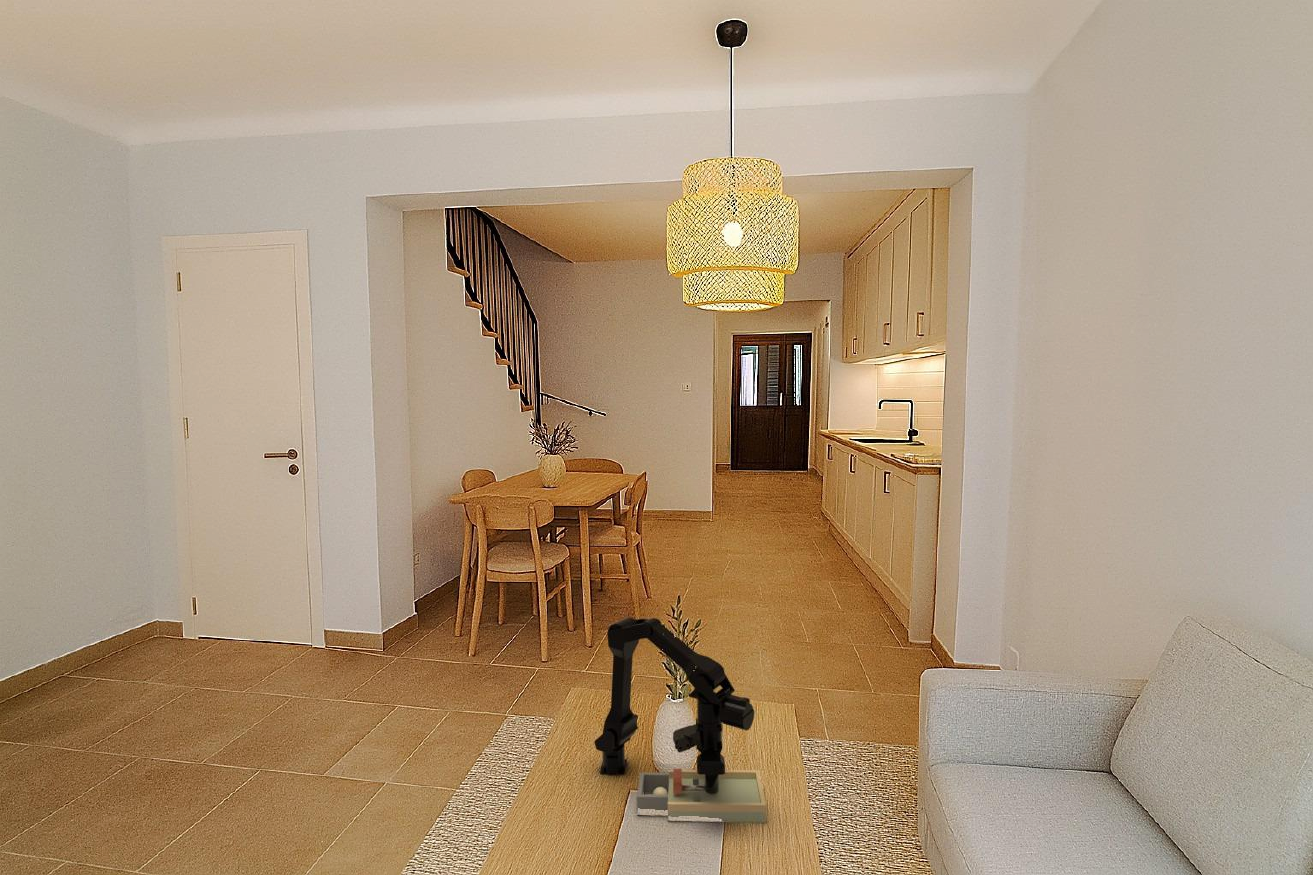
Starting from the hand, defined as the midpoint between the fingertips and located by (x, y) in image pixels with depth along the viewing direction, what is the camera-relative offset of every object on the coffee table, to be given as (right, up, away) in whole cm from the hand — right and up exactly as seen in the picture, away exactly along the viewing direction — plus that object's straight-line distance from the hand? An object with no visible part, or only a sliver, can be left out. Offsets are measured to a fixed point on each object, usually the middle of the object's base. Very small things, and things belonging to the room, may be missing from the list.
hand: (709, 782), depth 161 cm
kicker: (-3, -2, 0) cm, 4 cm away
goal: (-13, -5, +1) cm, 14 cm away
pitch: (+1, -5, 0) cm, 5 cm away
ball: (-12, -4, +1) cm, 12 cm away
